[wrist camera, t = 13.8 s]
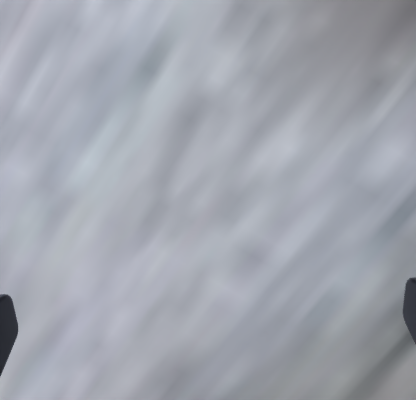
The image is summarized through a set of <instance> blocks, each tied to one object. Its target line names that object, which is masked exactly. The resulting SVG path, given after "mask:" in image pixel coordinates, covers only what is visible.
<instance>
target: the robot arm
mask: <svg viewBox="0 0 416 400" xmlns="http://www.w3.org/2000/svg"><path fill="white" fill-rule="evenodd" d="M403 317H404V320H405V323H406V325H407V327H408V329H409V331H410V333H411V335H412V337H413V340H414V342H415V344H416V278H410V279H409V280H407V283H406V287H405V296H404V304H403ZM17 334H18V323H17V318H16V314H15V309H14V305H13V301H12V299H11V297H10V296H9V295H6V294H1V295H0V376H1V374H2V371H3V369H4V367H5V364H6V362H7V359H8V357H9V354H10V352H11V350H12V347H13V345H14V342H15V340H16V338H17Z"/></svg>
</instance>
